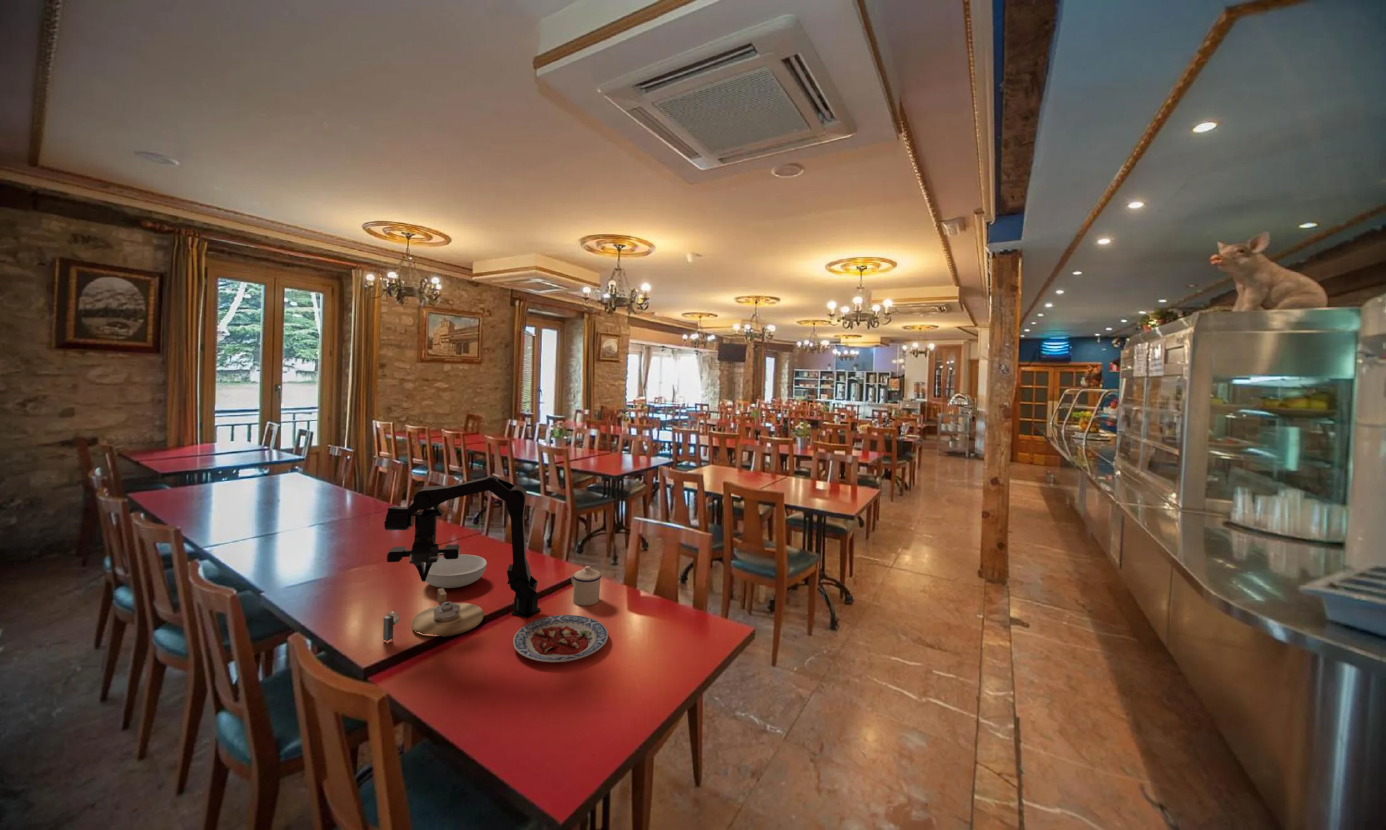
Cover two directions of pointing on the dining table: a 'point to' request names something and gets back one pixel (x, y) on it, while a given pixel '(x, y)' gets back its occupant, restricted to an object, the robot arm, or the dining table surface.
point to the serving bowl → (456, 571)
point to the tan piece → (465, 622)
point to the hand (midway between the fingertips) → (423, 581)
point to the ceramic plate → (560, 638)
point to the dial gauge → (390, 625)
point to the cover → (446, 612)
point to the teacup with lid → (586, 586)
